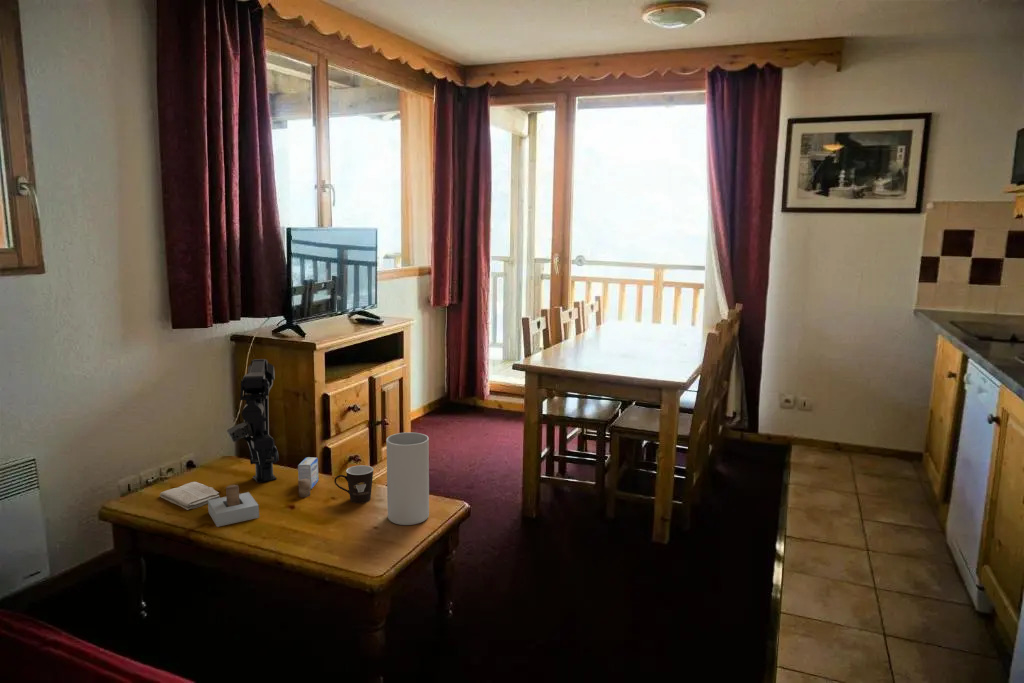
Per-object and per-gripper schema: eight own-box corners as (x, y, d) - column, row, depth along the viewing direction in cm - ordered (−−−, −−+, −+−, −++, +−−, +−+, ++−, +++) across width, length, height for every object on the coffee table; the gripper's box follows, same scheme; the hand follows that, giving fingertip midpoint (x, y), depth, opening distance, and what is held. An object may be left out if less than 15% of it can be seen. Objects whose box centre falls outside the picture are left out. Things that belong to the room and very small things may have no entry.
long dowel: (226, 514, 207) (224, 486, 206) (238, 511, 210) (237, 483, 208) (228, 518, 205) (227, 490, 203) (241, 515, 207) (239, 487, 205)
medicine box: (311, 489, 228) (310, 465, 227) (298, 489, 228) (297, 464, 227) (318, 481, 236) (318, 457, 234) (306, 480, 236) (305, 456, 234)
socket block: (208, 512, 208) (207, 500, 208) (249, 504, 215) (248, 492, 215) (216, 526, 199) (216, 513, 198) (259, 517, 205) (258, 505, 205)
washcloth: (188, 512, 210) (188, 503, 209) (158, 498, 220) (157, 489, 219) (224, 500, 219) (223, 491, 219) (193, 487, 229) (192, 479, 229)
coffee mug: (378, 495, 224) (377, 466, 222) (368, 505, 216) (367, 475, 214) (344, 492, 226) (344, 463, 224) (333, 502, 217) (332, 472, 216)
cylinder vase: (435, 511, 212) (434, 434, 208) (419, 528, 200) (418, 447, 196) (398, 507, 215) (397, 430, 211) (380, 523, 203) (379, 442, 199)
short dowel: (297, 494, 224) (296, 480, 223) (308, 492, 226) (307, 478, 225) (300, 498, 221) (300, 483, 220) (311, 495, 223) (311, 481, 222)
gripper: (222, 411, 218) (224, 457, 221) (235, 425, 203) (238, 475, 206) (258, 406, 225) (260, 451, 227) (273, 419, 209) (276, 468, 212)
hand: (258, 461), depth 218 cm, fingers open, 9 cm apart
